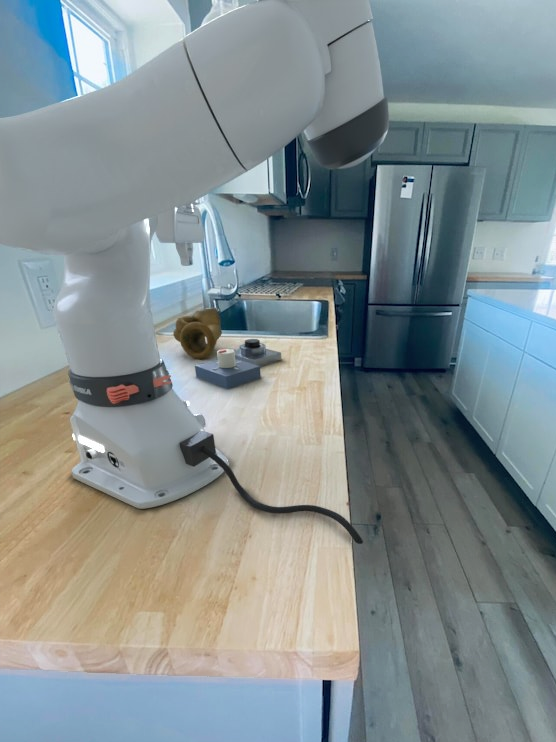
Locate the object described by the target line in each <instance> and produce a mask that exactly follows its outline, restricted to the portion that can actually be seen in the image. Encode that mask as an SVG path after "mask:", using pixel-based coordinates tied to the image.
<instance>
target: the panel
mask: <svg viewBox="0 0 556 742" xmlns="http://www.w3.org/2000/svg"><path fill="white" fill-rule="evenodd" d="M235 361H236V366H235V367H232V368H221V367H219V364H218V359H215V360H211V361H206V362H203V363H200V364H196V365H194V369H195V370H194V371H195V375H196V378H197V379H200V380H202V381H205V382H208V383H211V384H212V385H216V386H218V387H220V388H223V389H226V390H229V389H232V388H236V387H238V386H242V385H244V384H248V383H251V382H253V381H256V380H259V379H262V373H261V366H257V365H254V364H251V363H247V362H244V361H241V360H237V359H235Z"/></svg>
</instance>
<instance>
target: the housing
mask: <svg viewBox="0 0 556 742" xmlns="http://www.w3.org/2000/svg"><path fill="white" fill-rule="evenodd" d="M233 350H234V351H235V359H237V360H241V361H244V362H247V363H251V364H254V365H257V366H260V367H263V366H267V365H270V364H273V363H276V362H279V361H282V352H281V351H276V350H273V349H269V348H267V346H266V344H265V343H262V342H260V347H257V348H247V347H245V343H241V344H240V345H239V347H238V348H235V349H233Z"/></svg>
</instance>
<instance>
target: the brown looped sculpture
mask: <svg viewBox="0 0 556 742" xmlns="http://www.w3.org/2000/svg"><path fill="white" fill-rule="evenodd" d="M222 334H223V331H222V328H221V318H220V314H219V311H218V309H217V308H216V307H213V308H211V307H210V308H209V307H207V308H206V309H203V310H196V311H195V312H194V313H193V314H192V315H185V316H180V317H178V318H177V319H176V322H175V329H174V330H173V335H172V336H173V337H174V339H175V340H176V341H177V342H179V343H180V346H181V348H182V349H183V351H184V353H186V354H187V355H188V356H190V357H191V358H193V359H196V360H205V359H207V358H210V356H212V355H213V353H214V351H215V348H216V345H217V342H218V340H219V339H220V338H221V336H222Z"/></svg>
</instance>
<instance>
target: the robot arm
mask: <svg viewBox="0 0 556 742" xmlns="http://www.w3.org/2000/svg"><path fill="white" fill-rule="evenodd" d="M373 20H374V15H373V12H372V7H371V3H370V0H256V1H252V2H249V3H247V4H244V5H242V6H240V7H237V8H234V9H232V10H230V11H228V12H226V13H224V14H222V15H219V16H217V17H214V19H212V20H210V21H208V22H206V23H205V24H203V25H201V26H198V28H196V29H194V30H193V31H192V32H190V33H188V34H187V35H185V37H183V38H181V39H180V40H178V41H177V42H175V43H174V44H172V45H171V46H169V47H168V48H166V49H165V50H163V51H162V52H160V53H159V54H157V55H155V56H154V57H153V58H152V59H150V60H148V61H147V62H145V63H144V64H142V65H141V66H139V67H138V68H136V69H135V70H134V71H132V72H130V73H129V74H128V75H126V76H124V77H122V78H121V79H119V80H117V81H115V82H113V83H111V84H108V85H107V86H104V87H100V88H99V89H95V90H93V91H90V92H87V93H84V94H82V95H78V96H74V97H71V98H69V99H65V100H62V101H58V102H56V103H53V104H49V105H46V106H43V107H40V108H38V109H34V110H32V111H31V110H30V111H28V112H24V113H20V114H17V115H12V116H7V117H6V116H5V117H0V245H3V246H7V247H9V248H14V249H17V250H21V251H25V252H29V253H35V254H39V255H44V256H53V257H54V256H55V257H56V256H63V278H62V284H61V288H60V290H59V292H58V294H57V296H56V298H55V299H54V302H53V307H52V317H53V320H54V323H55V325H56V329H57V333H58V335H59V338H60V341H61V344H62V348H63V351H64V354H65V356H66V359H67V363H68V366H69V370H68V371H67V375H68V378H69V386H70V388H71V389H72V392H73V395H74V397H75V398H76V400H77V405H76V407H75V410H74V411H73V413H72V415H71V417H70V418H69V422H70V426H71V429H72V430H71V431H72V434H71V435H72V438H73V441H74V442H75V444H76V447H77V452H78V456H79V458H80V461H79V462H78V463H77V464H76V465H75V466H74V467H72V468H71V474H72V478H73V479H74V480H76V481H79V482H81V483H82V484H85V485H87V486H89V487H91V488H93V489H96V490H97V491H100V492H102V493H104V494H106V495H108V496H111V497H113V498H114V499H117V500H118V501H121V502H123V503H125V504H127V505H130V506H132V507H134V508H136V509H139V510H145V509H150V508H155V507H159V506H162V505H165V504H166V505H167V504H168V503H172V502H175V501H177V500H180V499H181V498H184V497H186V496H188V495H190V494H192V493H194V492H196V491H198V490H200V489H202V488H204V487H205V486H207V485H209V484H210V483H212V482H213V481H215V480H216V479H217V478H220V476H221V475H223V474H224V472H225V473H226V476H227V477H228V479H229V480H230V482H231V484H232V486H233V487H234V489H235V490H236V491H237V492H238V493H239V495H240V496H241V498H243V499H244V500H245V501H246V503H247V504H249V505H250V506H252V507H253V508H254V509H257V510H260V511H263V512H266V513H269V514H292V513H299V512H300V513H301V512H311V513H316V514H320V515H322V516H326V517H328V518H330V519H333V520H334V521H336V522H337V523H338V524H339V525H341V526H342V527H343V528H344V529H345V530H346V531H347V533H348V534H349V535H350V537H351V538H352V539H353V540H354V542H355V543H356V544H358V545H362V544H364V540H363V538H362V537H361V535H360V534H359V532H358V531H357V530H356V528H354V526H353V525H352V524H351V523H350V522H349V520H347V519H346V518H345V517H344V516H342V515H341V514H339V512H335V511H333V510H330V509H329V508H325V507H322V506H317V505H312V504H297V505H287V506H272V505H268V504H264V503H262V502H259V501H258V500H256V499H254V497H252V496H251V495H250V494H249V493H248V492H247V491H246V489H244V487H243V486H242V485H241V484H240V482H239V480H238V479H237V477H236V475H235V473H234V471H233V470H232V469H231V466H230V461H229V458H227V457H226V455H224V454H223V453H222V452H221V451H220V450H219V449H218V448H217V447H216V442H215V436H214V433H211V432H208V431H206V430H205V427H206V419H205V416H204V415H203V414H202V413H200V412H199V413H195V414H193V413H192V411H191V410H190V408H189V406H190V401H189V400H184V399H183V400H182V399H181V398H180V397H179V395H178V394H177V393H176V392H175V390H174V389H173V386H174V385H173V381H172V379H171V378H172V376H171V374H170V371H169V369H168V368H167V366H166V364H165V361H164V360H163V359H162V358H161V357H160V351H159V346H158V341H157V340H158V339H157V336H156V330H155V325H154V319H153V315H152V313H153V312H152V307H151V306H152V305H151V293H150V291H151V290H150V283H151V282H150V281H151V280H150V279H151V251H152V249H151V248H152V240H153V237H154V234H155V236H156V238H157V240H158V241H159V243H161V244H175V249H176V252H177V254H178V257H179V259H180V265H181V266H182V267H189V266H193V265H194V259H193V256H194V244H203V243H204V242H205V231H204V230H205V229H204V225H203V224H204V223H203V218H202V213H201V210H200V208H199V207H197V206H199V205H200V204H201V203H200V202H201V201H200V199H202V198H204V197H205V196H207V195H208V194H210V193H212V192H214V191H215V190H217V189H219V188H221V187H223V186H224V185H226V184H228V183H230V182H231V181H233V180H235V179H236V178H238V177H240V176H242V175H244V174H245V173H248V172H249V171H251V170H253V169H254V168H256V167H257V166H259V165H261V164H262V163H264V162H266V161H267V160H269V159H270V158H271V157H273V156H275V155H276V154H277V153H279V152H280V151H281V150H282V149H284V148H285V147H286V146H287V145H289V144H290V143H291V142H292V141H293V140H294V139H296V138H297V137H298V136H299V135H301V134H302V133H303V134H304V136H305V137H306V141H305V144H306V145H307V148H308V149H309V151H310V153H311V155H312V157H313V158H314V159H315V161H316V163H317V164H318V165H319V166H321V167H323V168H325V169H326V170H327V169H328V170H336V169H338V170H339V169H340V170H341V169H348V168H352V167H355V166H357V165H359V164H361V163H363V162H364V161H365V160H367V159H368V158H369V157H370V156H371V155H372V154H373V153H374V152H375V151H376V150H377V148H378V147H380V146H381V145H382V144H383V142H384V140H385V138H386V136H387V134H388V131H389V129H390V128H389V127H390V114H389V113H390V112H389V103H388V97H387V96H385V94H384V85H383V76H382V70H381V61H380V58H379V51H378V45H377V40H376V36H375V35H376V34H375V30H374V25H373Z"/></svg>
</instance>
